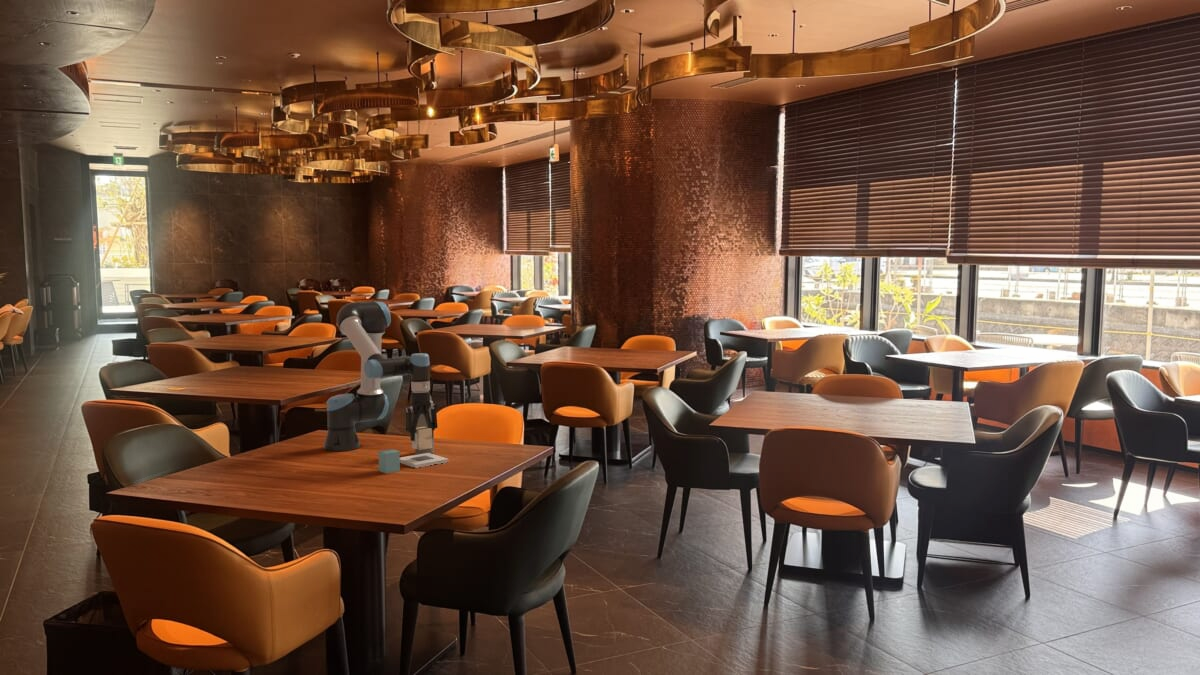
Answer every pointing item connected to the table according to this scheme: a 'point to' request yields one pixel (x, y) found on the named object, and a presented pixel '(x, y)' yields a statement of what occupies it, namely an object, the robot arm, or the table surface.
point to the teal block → (389, 461)
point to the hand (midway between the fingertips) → (422, 447)
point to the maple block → (424, 438)
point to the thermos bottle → (423, 424)
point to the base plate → (422, 460)
